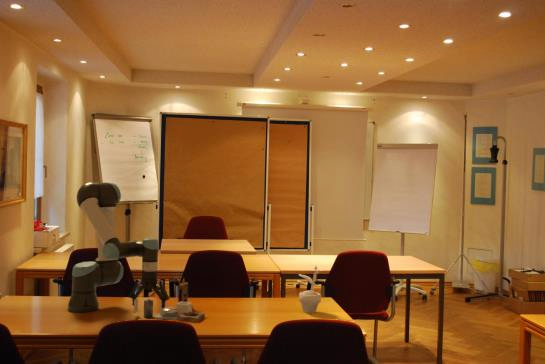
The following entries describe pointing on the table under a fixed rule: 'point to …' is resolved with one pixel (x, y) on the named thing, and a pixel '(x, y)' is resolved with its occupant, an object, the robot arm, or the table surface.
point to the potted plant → (310, 295)
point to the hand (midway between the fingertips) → (148, 313)
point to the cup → (184, 307)
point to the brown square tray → (191, 316)
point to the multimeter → (183, 291)
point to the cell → (148, 308)
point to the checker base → (167, 316)
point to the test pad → (170, 310)
